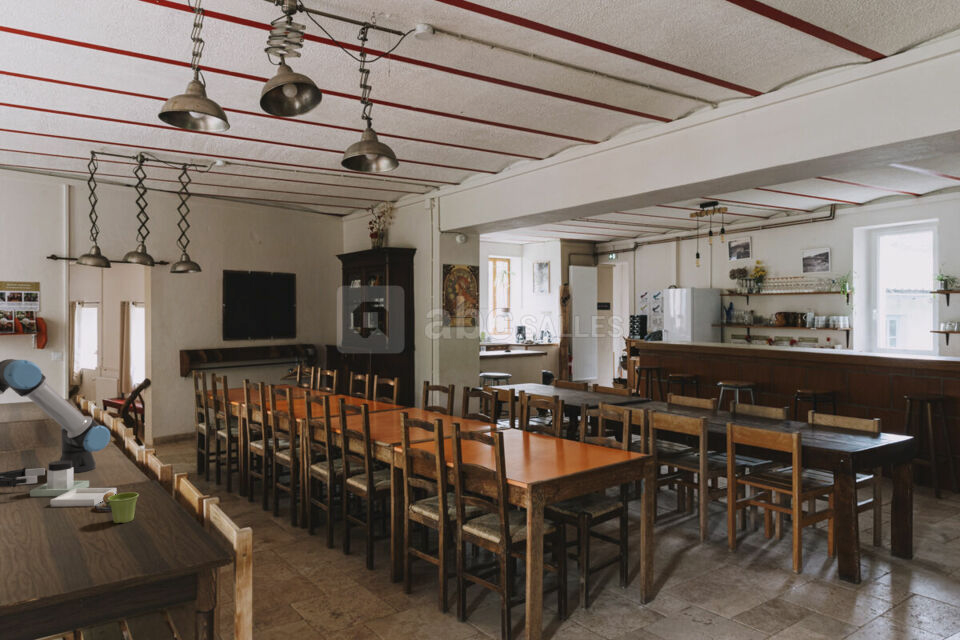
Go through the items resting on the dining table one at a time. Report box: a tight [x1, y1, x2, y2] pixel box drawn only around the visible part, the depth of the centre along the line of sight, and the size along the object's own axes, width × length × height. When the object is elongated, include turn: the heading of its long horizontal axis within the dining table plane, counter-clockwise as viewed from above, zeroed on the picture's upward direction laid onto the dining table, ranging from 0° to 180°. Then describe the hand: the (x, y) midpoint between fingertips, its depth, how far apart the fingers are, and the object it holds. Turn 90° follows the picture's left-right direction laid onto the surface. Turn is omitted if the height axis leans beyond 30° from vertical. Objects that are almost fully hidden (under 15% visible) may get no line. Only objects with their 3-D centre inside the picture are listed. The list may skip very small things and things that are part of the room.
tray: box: [50, 487, 118, 507], centre depth 243 cm, size 16×16×2 cm
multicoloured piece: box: [94, 491, 114, 513], centre depth 234 cm, size 12×12×8 cm
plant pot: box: [108, 492, 140, 524], centre depth 219 cm, size 9×9×9 cm
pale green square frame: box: [29, 480, 90, 497], centre depth 255 cm, size 14×15×2 cm
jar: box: [46, 459, 75, 489], centre depth 255 cm, size 9×8×12 cm
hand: (40, 475), depth 252 cm, fingers open, 13 cm apart
